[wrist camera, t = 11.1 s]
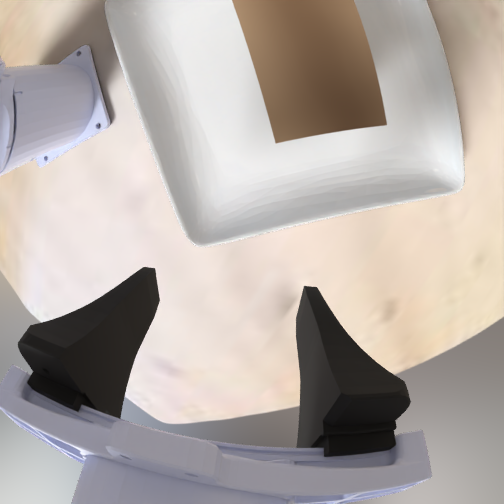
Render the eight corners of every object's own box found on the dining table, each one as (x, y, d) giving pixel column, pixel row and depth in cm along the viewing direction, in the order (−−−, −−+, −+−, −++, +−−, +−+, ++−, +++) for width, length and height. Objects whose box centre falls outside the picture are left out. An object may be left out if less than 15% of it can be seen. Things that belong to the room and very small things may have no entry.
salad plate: (119, 7, 13) (96, -3, 10) (378, -54, 8) (392, -71, 5) (201, 233, 23) (190, 255, 20) (445, 178, 18) (467, 192, 15)
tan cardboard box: (275, 128, 15) (275, 143, 10) (239, 9, 11) (220, -31, 6) (349, 115, 14) (387, 125, 9) (314, -4, 10) (332, -47, 5)
